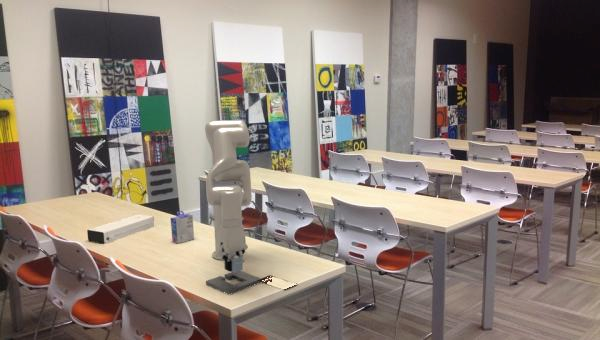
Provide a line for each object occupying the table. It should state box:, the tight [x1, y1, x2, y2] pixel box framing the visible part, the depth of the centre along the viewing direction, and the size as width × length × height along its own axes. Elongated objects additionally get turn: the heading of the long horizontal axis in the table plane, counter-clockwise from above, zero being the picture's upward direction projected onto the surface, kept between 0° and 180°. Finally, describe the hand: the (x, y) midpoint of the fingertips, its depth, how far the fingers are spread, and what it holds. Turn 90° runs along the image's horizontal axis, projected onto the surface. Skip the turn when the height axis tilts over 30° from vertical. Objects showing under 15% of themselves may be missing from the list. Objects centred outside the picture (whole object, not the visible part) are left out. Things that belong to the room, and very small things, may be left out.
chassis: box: [205, 270, 263, 295], centre depth 198 cm, size 16×14×2 cm
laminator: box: [87, 213, 155, 244], centre depth 266 cm, size 34×12×6 cm, turn 152°
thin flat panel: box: [261, 275, 298, 291], centre depth 199 cm, size 7×1×15 cm
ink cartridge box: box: [170, 210, 195, 244], centre depth 253 cm, size 10×6×14 cm, turn 137°
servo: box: [221, 254, 246, 273], centre depth 197 cm, size 4×9×6 cm, turn 46°
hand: (233, 268), depth 197 cm, fingers closed on servo, 4 cm apart
